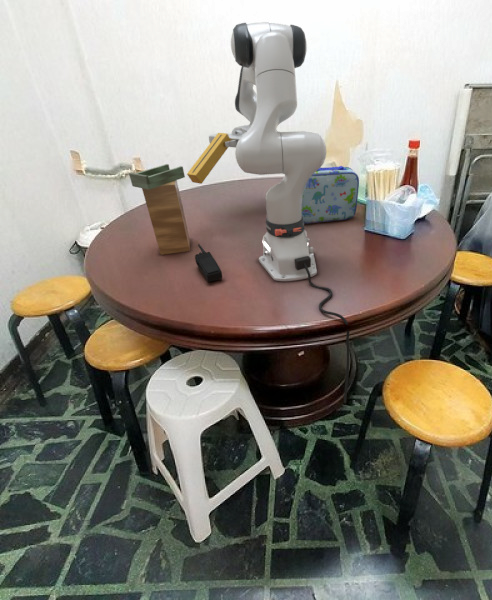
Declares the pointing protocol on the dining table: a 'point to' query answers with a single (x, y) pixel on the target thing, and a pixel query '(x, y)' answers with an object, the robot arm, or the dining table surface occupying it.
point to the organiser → (164, 206)
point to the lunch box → (330, 195)
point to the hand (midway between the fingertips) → (219, 144)
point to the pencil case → (208, 158)
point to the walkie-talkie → (208, 265)
